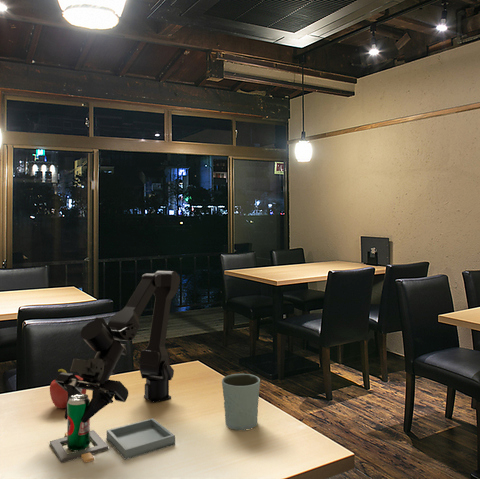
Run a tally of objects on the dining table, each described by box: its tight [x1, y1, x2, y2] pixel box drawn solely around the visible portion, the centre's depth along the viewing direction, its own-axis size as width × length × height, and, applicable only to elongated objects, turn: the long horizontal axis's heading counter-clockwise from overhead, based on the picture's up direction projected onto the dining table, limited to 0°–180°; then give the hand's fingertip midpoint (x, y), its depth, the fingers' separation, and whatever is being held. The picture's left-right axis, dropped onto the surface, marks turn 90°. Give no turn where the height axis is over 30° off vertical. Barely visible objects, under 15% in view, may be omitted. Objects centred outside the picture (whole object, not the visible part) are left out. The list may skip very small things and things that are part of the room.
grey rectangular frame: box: [49, 429, 109, 464], centre depth 107 cm, size 11×17×1 cm, turn 36°
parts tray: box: [106, 417, 176, 460], centre depth 109 cm, size 12×12×2 cm
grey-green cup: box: [221, 373, 261, 431], centre depth 120 cm, size 10×10×12 cm
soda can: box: [66, 393, 91, 452], centre depth 106 cm, size 5×5×12 cm
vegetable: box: [49, 368, 87, 409], centre depth 132 cm, size 11×10×10 cm
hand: (74, 420), depth 105 cm, fingers closed on soda can, 5 cm apart
